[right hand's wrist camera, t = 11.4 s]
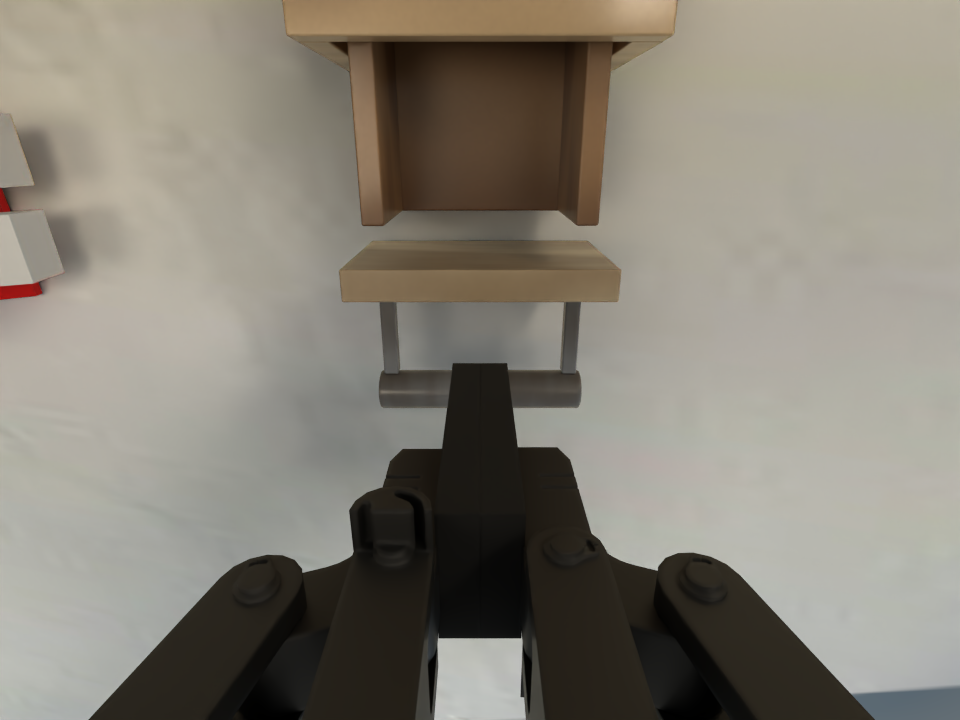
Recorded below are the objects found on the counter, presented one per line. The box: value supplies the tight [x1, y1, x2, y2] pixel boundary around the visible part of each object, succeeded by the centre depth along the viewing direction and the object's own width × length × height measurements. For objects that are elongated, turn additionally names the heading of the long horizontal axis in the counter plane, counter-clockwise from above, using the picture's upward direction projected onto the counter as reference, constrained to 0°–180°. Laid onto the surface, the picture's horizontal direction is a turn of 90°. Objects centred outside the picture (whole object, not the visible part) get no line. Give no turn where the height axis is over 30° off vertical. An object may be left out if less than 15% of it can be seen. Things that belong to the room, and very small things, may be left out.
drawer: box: [339, 42, 621, 408], centre depth 20 cm, size 24×10×6 cm, turn 0°
